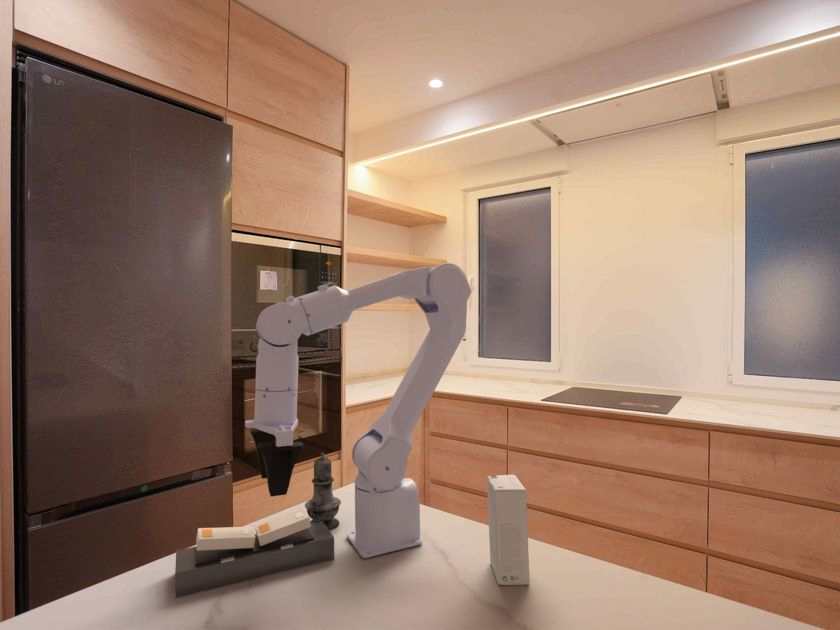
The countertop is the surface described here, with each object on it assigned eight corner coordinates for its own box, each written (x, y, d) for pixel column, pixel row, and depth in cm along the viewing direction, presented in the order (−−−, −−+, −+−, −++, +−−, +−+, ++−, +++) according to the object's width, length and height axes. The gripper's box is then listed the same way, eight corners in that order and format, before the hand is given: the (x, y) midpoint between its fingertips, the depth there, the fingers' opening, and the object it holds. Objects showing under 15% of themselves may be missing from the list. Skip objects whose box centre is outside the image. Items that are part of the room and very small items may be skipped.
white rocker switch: (250, 536, 66) (252, 526, 67) (253, 547, 63) (255, 536, 63) (196, 538, 63) (198, 527, 64) (196, 550, 60) (198, 538, 60)
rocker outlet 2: (305, 517, 70) (303, 507, 70) (311, 526, 67) (309, 516, 67) (256, 535, 67) (254, 525, 67) (260, 546, 64) (258, 536, 63)
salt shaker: (333, 534, 74) (332, 458, 74) (298, 531, 76) (297, 456, 76) (346, 518, 80) (345, 448, 80) (314, 516, 81) (313, 446, 81)
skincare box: (531, 585, 60) (529, 489, 60) (495, 586, 59) (494, 490, 59) (519, 560, 66) (518, 473, 66) (487, 561, 66) (486, 474, 66)
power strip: (322, 539, 72) (322, 519, 72) (334, 558, 67) (334, 536, 67) (176, 572, 64) (176, 549, 64) (175, 597, 58) (175, 571, 58)
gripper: (241, 383, 71) (237, 473, 71) (253, 397, 58) (249, 508, 58) (288, 381, 74) (285, 468, 74) (310, 395, 61) (307, 500, 61)
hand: (273, 485), depth 66 cm, fingers open, 7 cm apart
